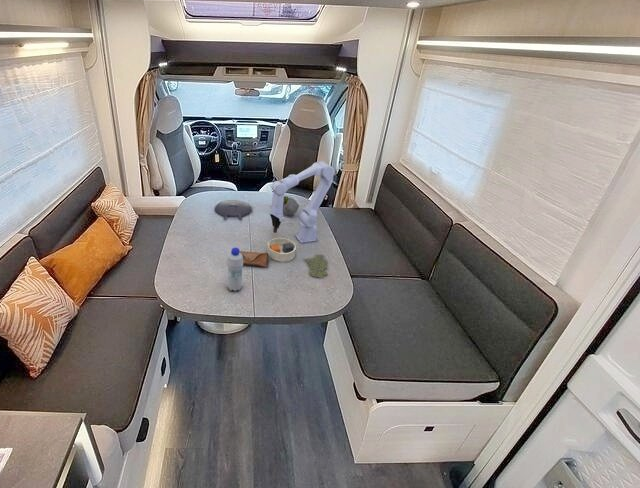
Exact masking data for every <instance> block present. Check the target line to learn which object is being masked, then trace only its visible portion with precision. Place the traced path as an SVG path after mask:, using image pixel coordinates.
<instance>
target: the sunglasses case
mask: <svg viewBox="0 0 640 488" xmlns="http://www.w3.org/2000/svg"><path fill="white" fill-rule="evenodd" d="M240 253H241V254H242V256H243V266H246V267H254V268H268V267H269V256H268V253H267V252H255V251H244V250H243V251H242V250H240Z"/></svg>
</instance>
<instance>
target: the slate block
mask: <svg viewBox="0 0 640 488" xmlns="http://www.w3.org/2000/svg"><path fill="white" fill-rule="evenodd" d="M292 251H293V246H292V244H291V243H285V244H283V252H284V253H289V252H292Z"/></svg>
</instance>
